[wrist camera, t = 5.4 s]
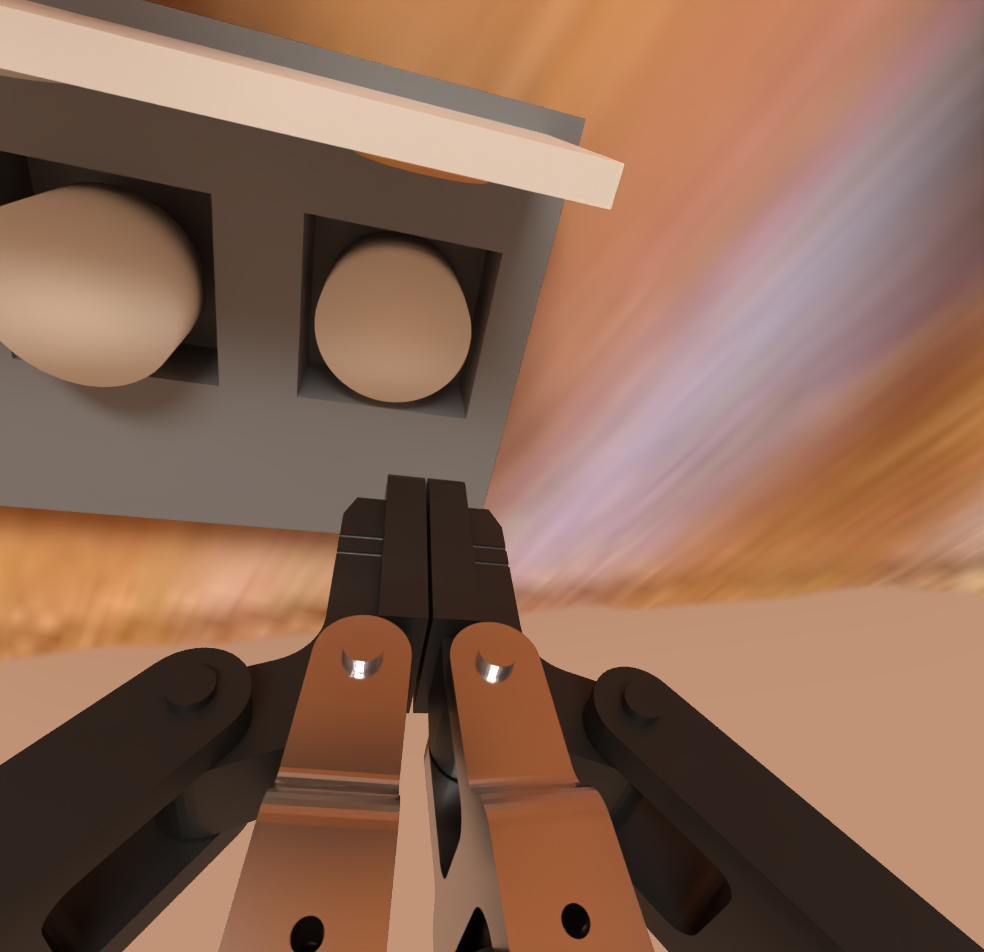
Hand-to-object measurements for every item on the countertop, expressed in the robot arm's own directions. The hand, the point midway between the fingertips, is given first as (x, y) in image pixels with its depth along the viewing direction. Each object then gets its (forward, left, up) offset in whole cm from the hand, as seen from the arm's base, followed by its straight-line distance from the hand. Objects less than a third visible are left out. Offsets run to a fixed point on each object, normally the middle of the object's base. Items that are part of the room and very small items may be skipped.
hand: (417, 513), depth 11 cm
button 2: (+1, 0, -12) cm, 12 cm away
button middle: (+9, 0, -11) cm, 14 cm away
